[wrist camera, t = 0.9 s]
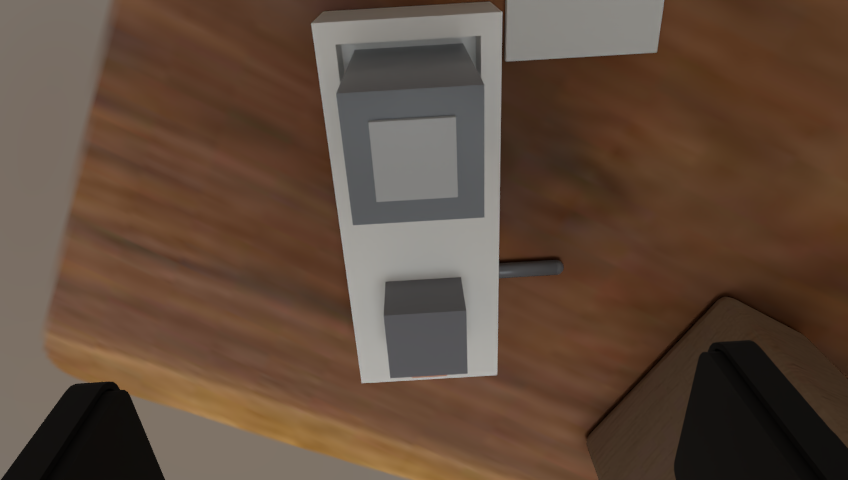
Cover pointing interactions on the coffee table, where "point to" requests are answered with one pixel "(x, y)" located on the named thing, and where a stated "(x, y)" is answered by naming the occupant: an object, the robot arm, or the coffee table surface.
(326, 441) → the coffee table surface
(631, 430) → the decorative block
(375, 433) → the coffee table surface
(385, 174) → the block
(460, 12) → the power strip
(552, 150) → the coffee table surface
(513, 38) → the felt pad
